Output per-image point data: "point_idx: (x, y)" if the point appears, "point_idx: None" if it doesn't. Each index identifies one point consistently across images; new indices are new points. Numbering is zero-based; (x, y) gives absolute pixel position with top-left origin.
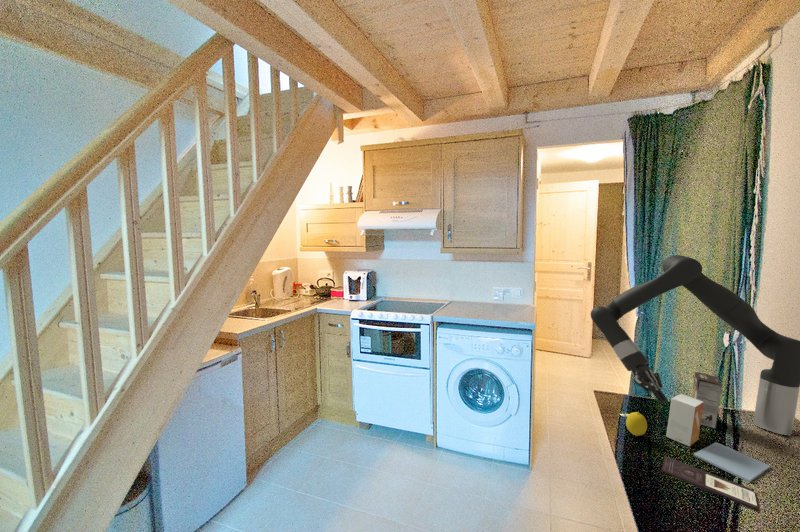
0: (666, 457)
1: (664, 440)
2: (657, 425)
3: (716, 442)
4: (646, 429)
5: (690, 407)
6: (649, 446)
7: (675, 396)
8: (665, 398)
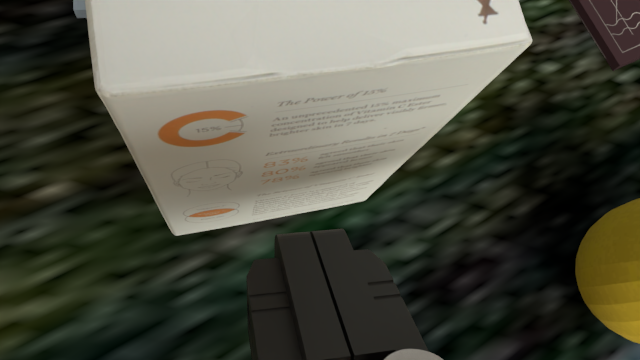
0: (624, 54)
1: (429, 175)
2: (242, 340)
3: (78, 6)
4: (626, 203)
5: None
6: (603, 166)
7: (365, 60)
8: (315, 250)
